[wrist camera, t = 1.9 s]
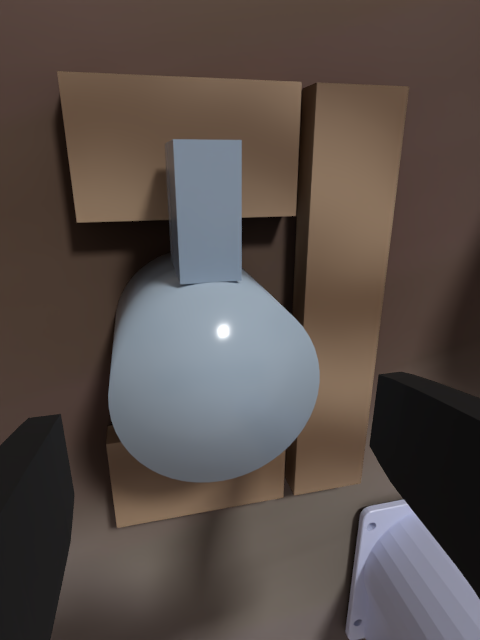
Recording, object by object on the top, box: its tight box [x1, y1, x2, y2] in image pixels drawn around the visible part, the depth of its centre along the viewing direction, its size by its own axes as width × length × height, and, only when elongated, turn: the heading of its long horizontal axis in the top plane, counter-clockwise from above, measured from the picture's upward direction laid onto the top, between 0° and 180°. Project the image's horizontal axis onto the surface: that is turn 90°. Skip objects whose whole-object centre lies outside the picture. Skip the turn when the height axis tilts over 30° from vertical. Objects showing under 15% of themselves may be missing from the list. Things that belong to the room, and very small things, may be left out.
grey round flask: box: [108, 139, 320, 482], centre depth 13 cm, size 9×6×6 cm, turn 0°
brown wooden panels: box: [57, 71, 409, 528], centre depth 16 cm, size 16×11×1 cm
